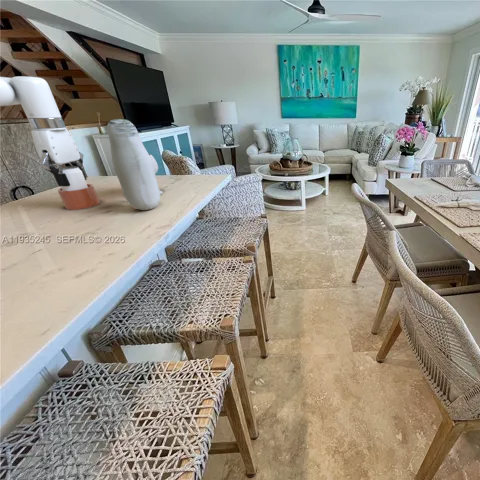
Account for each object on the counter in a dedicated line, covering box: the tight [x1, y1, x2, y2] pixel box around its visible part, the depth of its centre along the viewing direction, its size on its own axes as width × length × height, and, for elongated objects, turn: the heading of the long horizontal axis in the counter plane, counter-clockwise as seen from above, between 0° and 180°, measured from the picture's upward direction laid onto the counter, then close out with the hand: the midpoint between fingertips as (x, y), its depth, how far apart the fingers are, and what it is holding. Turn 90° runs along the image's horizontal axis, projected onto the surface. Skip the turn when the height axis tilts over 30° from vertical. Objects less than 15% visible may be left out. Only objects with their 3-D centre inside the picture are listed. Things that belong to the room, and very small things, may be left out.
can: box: [55, 165, 88, 191], centre depth 88 cm, size 6×6×12 cm
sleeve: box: [57, 183, 101, 211], centre depth 90 cm, size 9×9×7 cm
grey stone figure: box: [106, 118, 161, 211], centre depth 84 cm, size 10×10×28 cm
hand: (73, 182), depth 88 cm, fingers closed on can, 6 cm apart
